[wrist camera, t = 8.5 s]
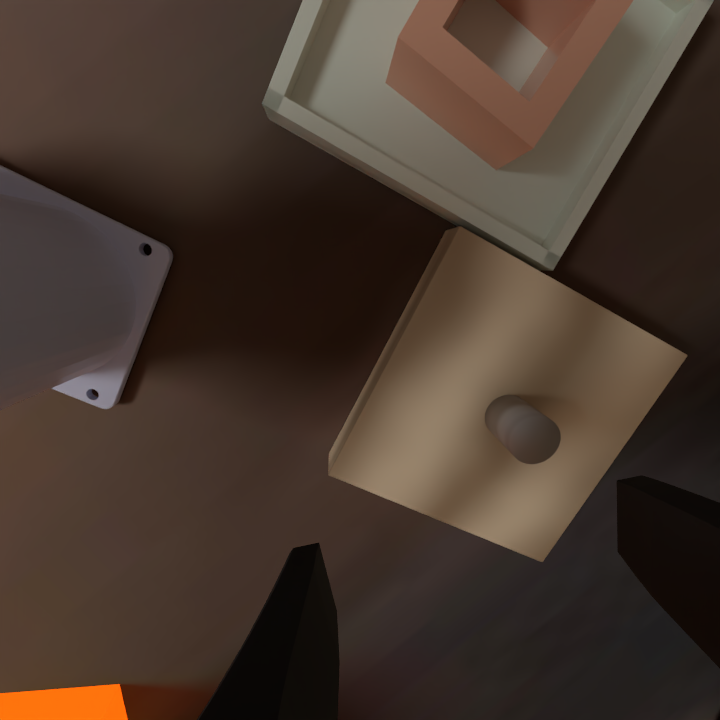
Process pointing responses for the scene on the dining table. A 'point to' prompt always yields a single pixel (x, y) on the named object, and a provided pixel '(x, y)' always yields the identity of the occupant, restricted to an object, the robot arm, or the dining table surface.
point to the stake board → (499, 398)
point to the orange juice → (65, 704)
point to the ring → (485, 87)
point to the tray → (443, 151)
